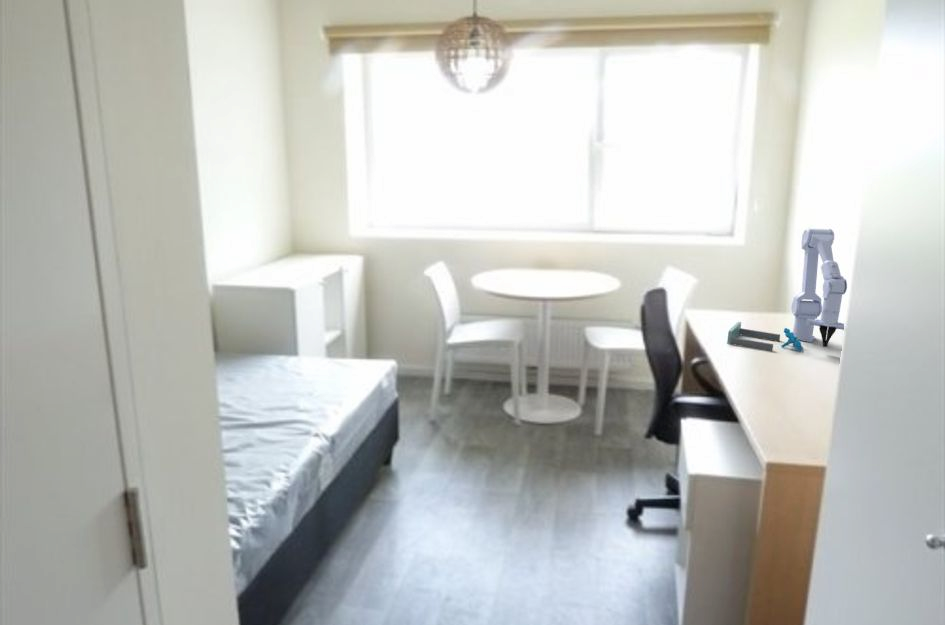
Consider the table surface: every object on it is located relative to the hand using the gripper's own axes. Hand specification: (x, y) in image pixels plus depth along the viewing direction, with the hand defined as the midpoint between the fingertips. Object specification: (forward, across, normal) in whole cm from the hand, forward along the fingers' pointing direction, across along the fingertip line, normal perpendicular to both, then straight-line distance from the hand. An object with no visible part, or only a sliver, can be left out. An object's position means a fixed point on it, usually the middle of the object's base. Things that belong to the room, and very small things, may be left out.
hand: (824, 346), depth 257 cm
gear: (+3, -11, 0) cm, 11 cm away
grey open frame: (+3, -25, 0) cm, 25 cm away
